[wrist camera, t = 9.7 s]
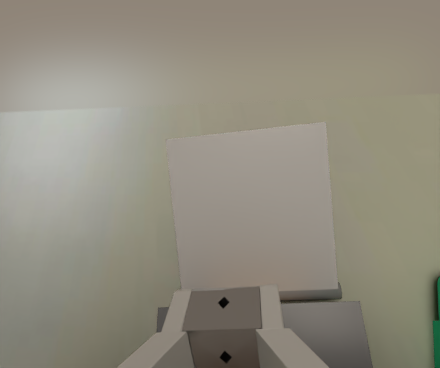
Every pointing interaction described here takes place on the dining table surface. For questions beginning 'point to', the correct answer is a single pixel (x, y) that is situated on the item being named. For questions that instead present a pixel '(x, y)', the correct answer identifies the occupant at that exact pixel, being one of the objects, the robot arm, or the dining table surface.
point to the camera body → (324, 331)
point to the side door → (255, 211)
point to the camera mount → (437, 333)
